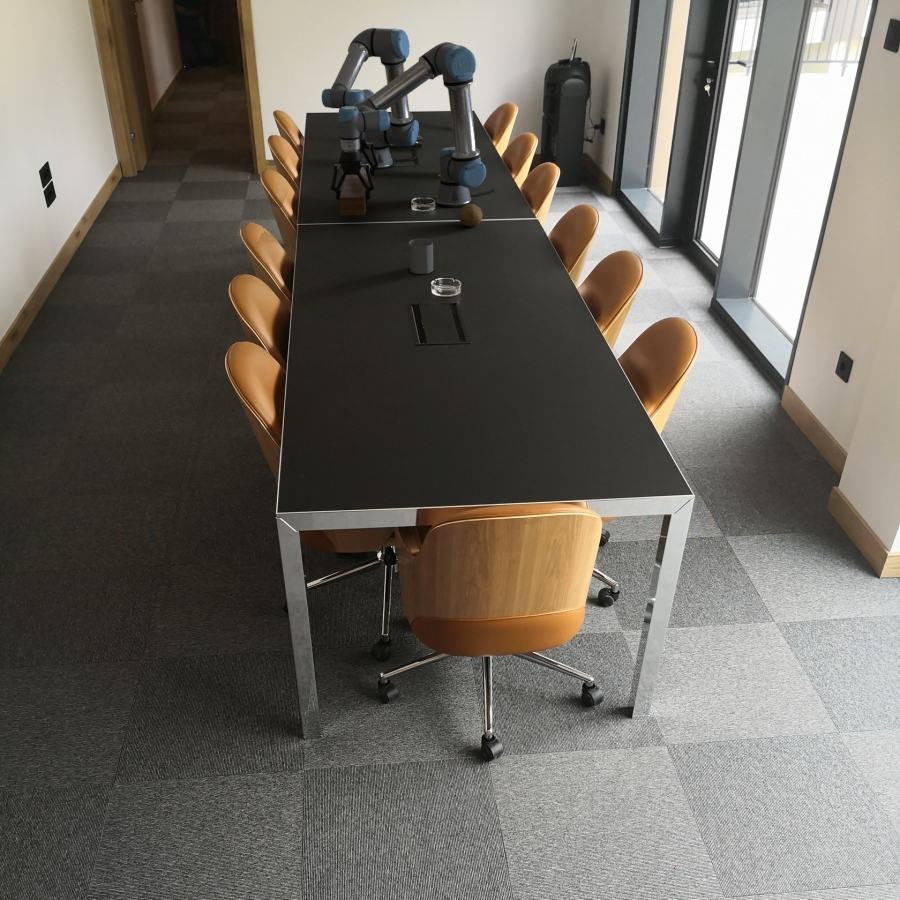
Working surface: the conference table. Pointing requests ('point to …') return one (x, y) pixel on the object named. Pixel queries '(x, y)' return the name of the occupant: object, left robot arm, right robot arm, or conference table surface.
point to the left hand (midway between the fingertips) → (359, 183)
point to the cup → (421, 256)
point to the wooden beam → (353, 195)
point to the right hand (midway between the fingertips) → (353, 207)
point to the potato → (470, 215)
